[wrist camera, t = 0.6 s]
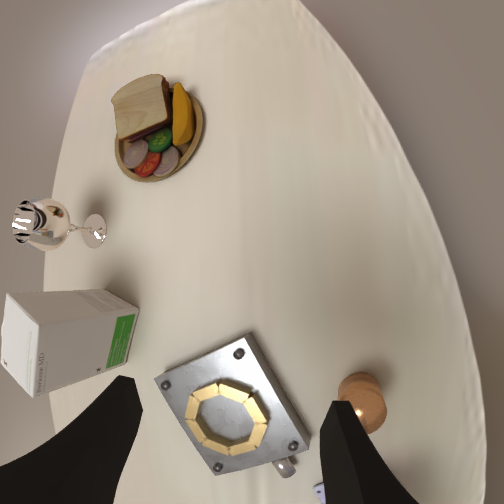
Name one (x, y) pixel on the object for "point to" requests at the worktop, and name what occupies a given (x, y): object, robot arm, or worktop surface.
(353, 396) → the copper spout can
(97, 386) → the worktop surface
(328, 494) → the robot arm
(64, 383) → the skincare box
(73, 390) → the worktop surface
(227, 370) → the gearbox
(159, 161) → the toy sandwich meal
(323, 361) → the worktop surface
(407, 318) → the worktop surface
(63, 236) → the wineglass
